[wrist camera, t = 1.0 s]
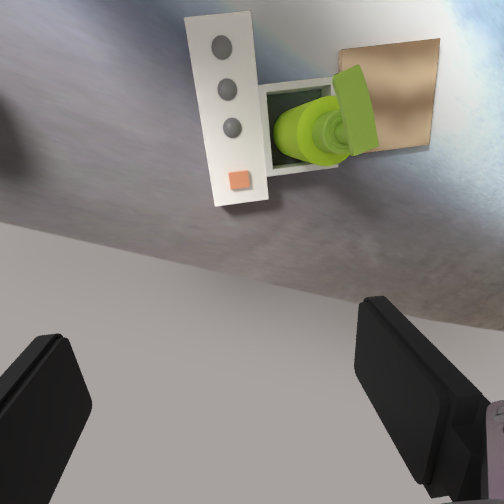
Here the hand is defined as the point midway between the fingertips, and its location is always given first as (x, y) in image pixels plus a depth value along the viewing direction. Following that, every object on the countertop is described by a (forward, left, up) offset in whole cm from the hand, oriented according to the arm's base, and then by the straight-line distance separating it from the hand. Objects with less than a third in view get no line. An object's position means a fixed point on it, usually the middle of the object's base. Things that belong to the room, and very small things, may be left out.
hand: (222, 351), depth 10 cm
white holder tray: (-8, +7, -33) cm, 35 cm away
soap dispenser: (-6, +10, -33) cm, 35 cm away
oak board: (-8, +22, -33) cm, 41 cm away
